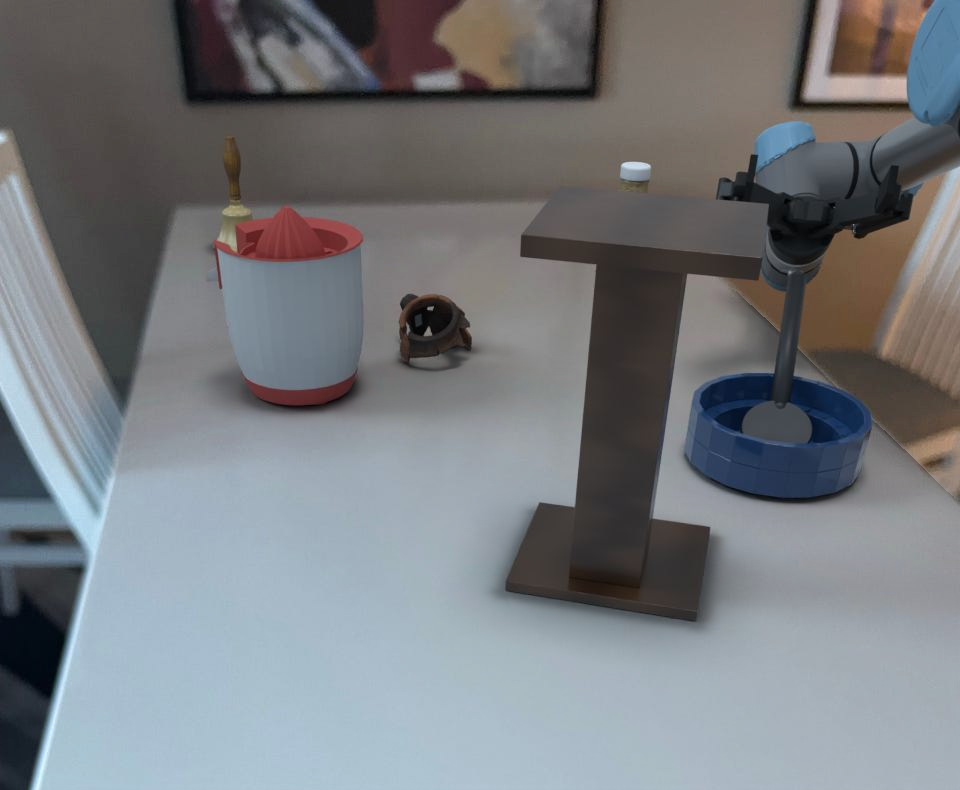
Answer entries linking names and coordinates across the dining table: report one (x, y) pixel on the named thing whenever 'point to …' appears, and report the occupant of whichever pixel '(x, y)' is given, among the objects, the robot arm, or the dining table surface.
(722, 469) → the bowl
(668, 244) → the wooden pedestal stand
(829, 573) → the dining table surface
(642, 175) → the sprinkles bottle
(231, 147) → the hand bell
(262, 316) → the citrus juicer
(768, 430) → the long-handled flat disc
